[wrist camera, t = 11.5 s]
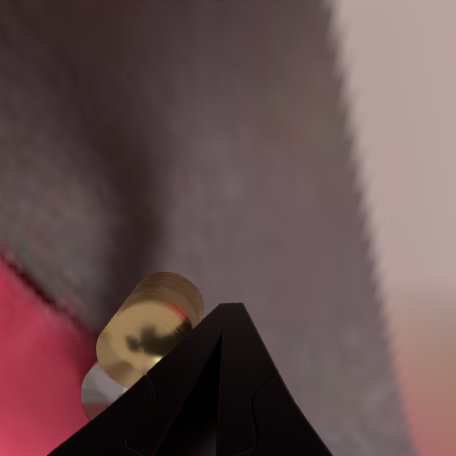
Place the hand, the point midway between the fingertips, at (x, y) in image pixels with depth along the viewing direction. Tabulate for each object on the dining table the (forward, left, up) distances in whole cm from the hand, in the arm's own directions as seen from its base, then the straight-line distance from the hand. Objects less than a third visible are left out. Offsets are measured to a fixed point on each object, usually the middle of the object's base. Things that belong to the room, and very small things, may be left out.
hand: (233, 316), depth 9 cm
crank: (+3, +5, -3) cm, 7 cm away
